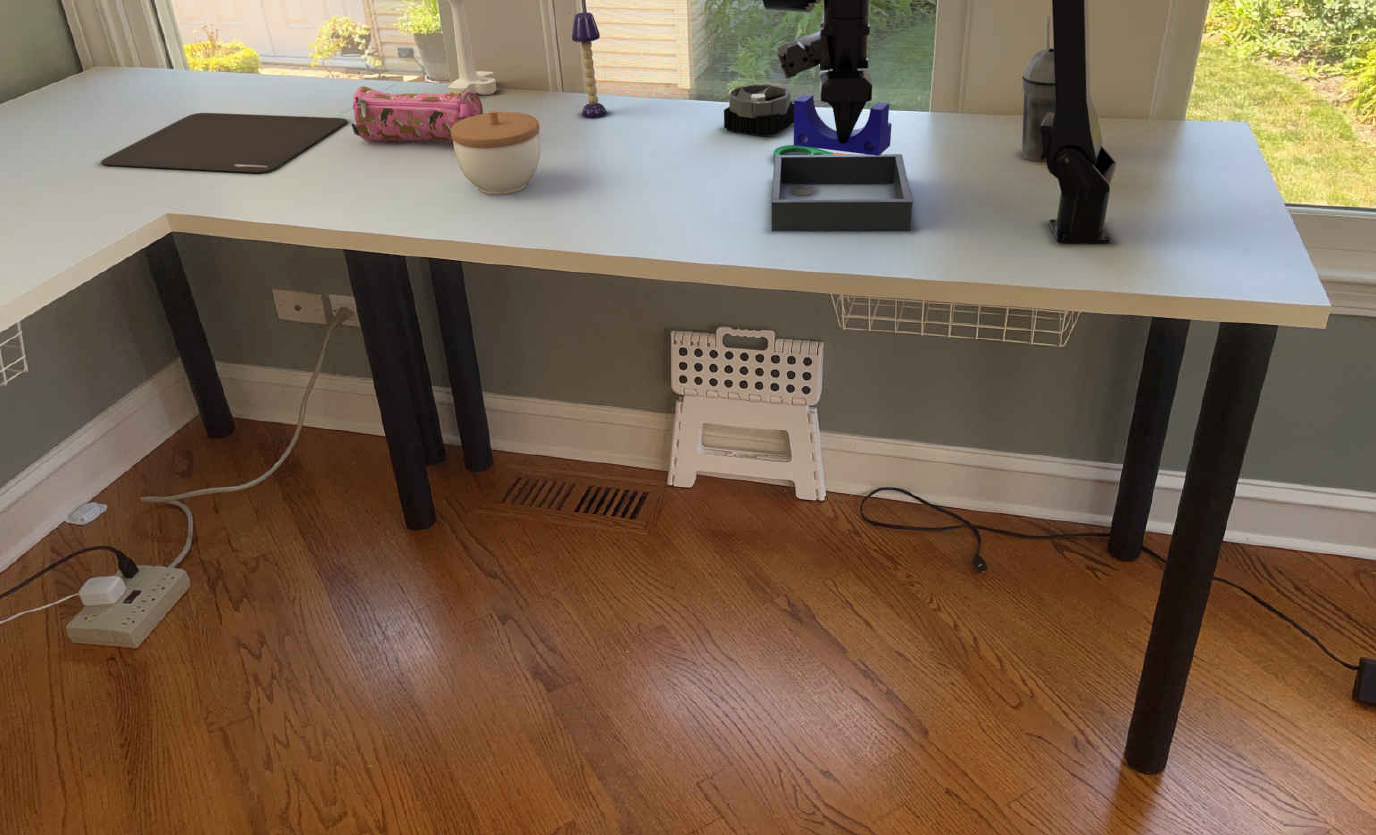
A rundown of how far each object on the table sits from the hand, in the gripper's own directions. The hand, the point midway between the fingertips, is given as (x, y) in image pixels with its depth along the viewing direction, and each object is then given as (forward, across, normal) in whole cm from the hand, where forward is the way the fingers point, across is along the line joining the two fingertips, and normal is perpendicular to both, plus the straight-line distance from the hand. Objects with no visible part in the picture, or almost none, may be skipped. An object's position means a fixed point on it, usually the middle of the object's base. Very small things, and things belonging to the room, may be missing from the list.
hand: (842, 136), depth 146 cm
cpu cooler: (+10, -34, -12) cm, 37 cm away
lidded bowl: (+10, -8, -49) cm, 51 cm away
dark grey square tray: (+10, 0, 0) cm, 10 cm away
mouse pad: (+9, -29, -101) cm, 106 cm away
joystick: (+10, -56, -65) cm, 86 cm away
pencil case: (+10, -28, -67) cm, 73 cm away
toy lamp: (+10, -42, -41) cm, 60 cm away
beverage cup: (+10, -19, +30) cm, 37 cm away
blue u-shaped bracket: (+2, 0, 0) cm, 2 cm away
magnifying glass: (+10, -17, -2) cm, 20 cm away
